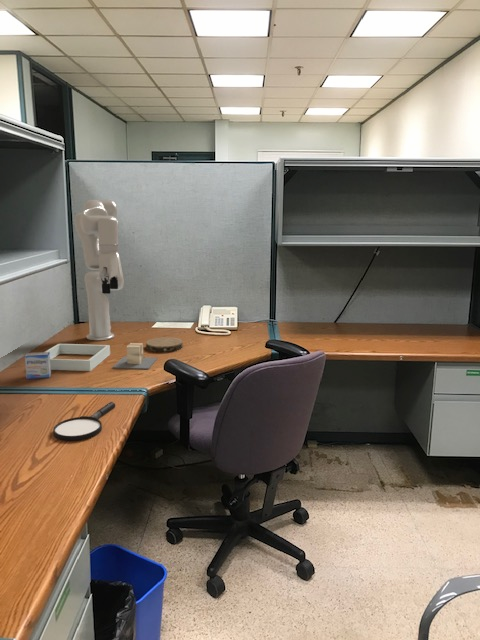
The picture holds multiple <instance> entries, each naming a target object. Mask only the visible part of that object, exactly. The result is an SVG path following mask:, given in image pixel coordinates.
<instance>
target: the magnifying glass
mask: <svg viewBox="0 0 480 640" xmlns="http://www.w3.org/2000/svg"><path fill="white" fill-rule="evenodd" d="M115 407H116V403H115V402H114V401H110V402H108V403H106V405H104V406H102V407H100V408H99V409H98V410H97V411H95V412H94V413H93V414H91V415H90V416H89V415H87V416H86V415H85V416H83V415H82V416H78V417H72V418H67V419H65V420H63V421H60V422H58V423H57V424H55V425H54V427H53V431H52V432H53V437H54V438H55V439H57V440H59V441H61V442H82V441H85V440H89V439H91V438H94V437H96V436H97V435H99V434H100V433H101V432H102V429H103V428H102V427H103V426H102V425H103V423H102V422H101V420H100V418H101V417H103V416H105V415H107V414H108V413H109V412H110V411H112V410H113V409H116V408H115Z"/></svg>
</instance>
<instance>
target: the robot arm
mask: <svg viewBox="0 0 480 640" xmlns="http://www.w3.org/2000/svg"><path fill="white" fill-rule="evenodd" d="M82 210H83V211H82V212H79V213H77V214H76V215H75V216H74V226H75V231H76V233H77V235H78V237H79V239H80V241H81V242H80V243H81V244H82V251H83V257H84V263H85V267H86V268H87V269H88V270H89V271H88V272H86V274H85V275H84V279H83V280H84V285H85V289H86V296H87V309H88V310H87V311H88V323H89V325H88V327H89V328H88V329H89V333H88V334H86V339H87V340H89V341H107V340H110V339H111V340H112V339H113V338H115V334H114V333H113V332H111V329H112V326H111V318H110V317H111V315H110V300H109V298H108V296H107V295H109V294H111V291H120V290H122V289H123V288H124V285H125V280H124V272H123V268H122V263H121V262H122V261H121V257H120V254H119V236H118V235H119V233H118V230H119V220H118V219H117V217H118V216H117V215H118V206H117V204H116V203H115V202H114V201H113V200H111V199H89V200H87V201H86V202H84V204H83V209H82ZM106 294H107V295H106Z"/></svg>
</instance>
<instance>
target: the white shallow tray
mask: <svg viewBox="0 0 480 640" xmlns="http://www.w3.org/2000/svg"><path fill="white" fill-rule="evenodd" d="M44 352H49V353H50V368H51V371H54V370H55V371H80V372H91V371H93V370H94V369H95V368H96V367H97V366H98V365H100V363H102V362H103V361H104V360H105V359H106V358H108V357H109V356H111V346H110V344H85V343H84V344H81V343H79V344H78V343H76V344H75V343H57V344H56V345H54V346H52V347H51V348H49V349H47V350H45V351H44ZM63 354H67V355H92V356H91V357H90V358H89V359H75V358H73V359H67V358H56V357H57V356H59V355H63Z"/></svg>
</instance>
